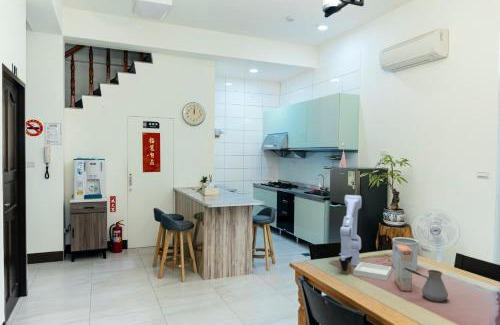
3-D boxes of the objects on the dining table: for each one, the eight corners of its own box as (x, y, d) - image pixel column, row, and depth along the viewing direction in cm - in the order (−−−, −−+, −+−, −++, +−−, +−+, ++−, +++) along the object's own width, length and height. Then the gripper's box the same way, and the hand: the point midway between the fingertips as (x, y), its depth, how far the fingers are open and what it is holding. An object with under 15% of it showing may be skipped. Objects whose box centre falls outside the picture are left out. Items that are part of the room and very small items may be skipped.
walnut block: (342, 270, 211) (342, 260, 211) (351, 272, 208) (351, 261, 208) (340, 272, 206) (340, 262, 206) (348, 274, 204) (349, 264, 204)
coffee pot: (439, 293, 176) (439, 263, 175) (453, 303, 164) (454, 271, 164) (397, 294, 174) (397, 264, 174) (409, 303, 163) (409, 271, 163)
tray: (360, 266, 219) (360, 262, 219) (391, 271, 210) (391, 266, 210) (353, 274, 203) (353, 269, 203) (386, 280, 194) (386, 275, 194)
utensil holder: (422, 272, 209) (423, 242, 209) (397, 271, 210) (397, 242, 210) (411, 264, 224) (412, 237, 224) (388, 264, 224) (388, 237, 224)
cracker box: (412, 291, 178) (413, 250, 177) (399, 290, 179) (400, 250, 179) (406, 282, 191) (406, 244, 191) (394, 281, 193) (394, 243, 192)
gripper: (342, 243, 215) (342, 265, 215) (335, 248, 203) (335, 271, 203) (354, 244, 212) (354, 267, 212) (348, 250, 199) (347, 274, 199)
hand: (345, 269), depth 207 cm, fingers closed on walnut block, 5 cm apart
